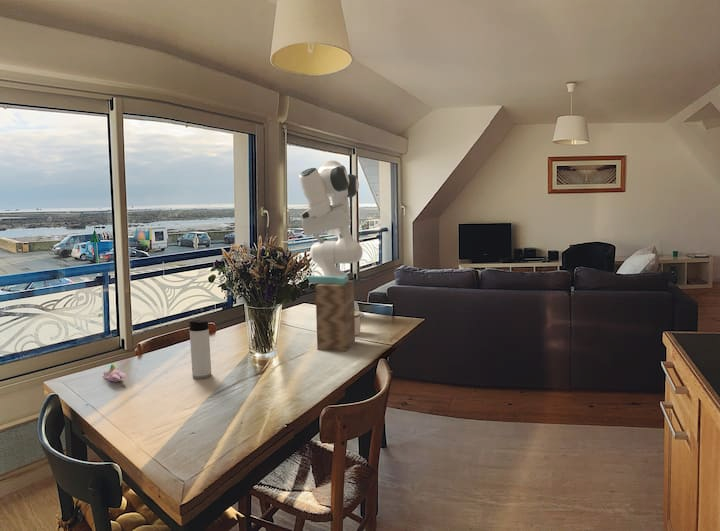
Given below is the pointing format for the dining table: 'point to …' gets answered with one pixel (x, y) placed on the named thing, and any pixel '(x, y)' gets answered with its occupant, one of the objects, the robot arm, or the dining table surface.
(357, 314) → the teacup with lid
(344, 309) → the stand
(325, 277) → the t bar
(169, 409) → the dining table surface
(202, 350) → the travel mug
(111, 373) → the pink flower
